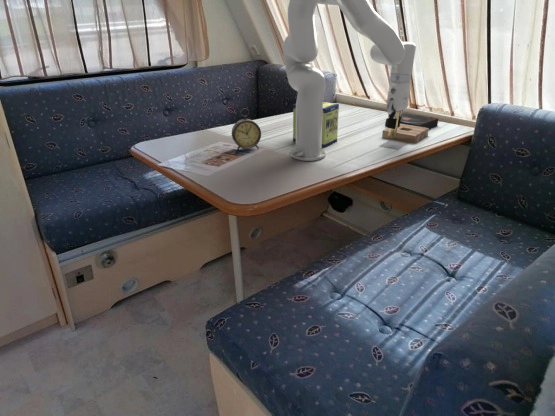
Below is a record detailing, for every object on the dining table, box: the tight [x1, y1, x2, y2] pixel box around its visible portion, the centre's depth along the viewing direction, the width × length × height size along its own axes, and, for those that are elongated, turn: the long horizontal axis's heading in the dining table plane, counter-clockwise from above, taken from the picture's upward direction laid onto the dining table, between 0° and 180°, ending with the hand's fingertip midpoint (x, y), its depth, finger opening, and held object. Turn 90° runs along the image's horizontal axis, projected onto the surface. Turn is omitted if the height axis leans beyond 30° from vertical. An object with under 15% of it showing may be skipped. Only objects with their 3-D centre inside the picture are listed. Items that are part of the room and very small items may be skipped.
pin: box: [388, 108, 400, 137], centre depth 157 cm, size 3×3×12 cm
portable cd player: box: [384, 112, 439, 130], centre depth 186 cm, size 16×17×4 cm
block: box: [381, 124, 430, 145], centre depth 171 cm, size 14×14×4 cm
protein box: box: [292, 101, 340, 149], centre depth 165 cm, size 10×16×16 cm
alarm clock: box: [231, 108, 262, 152], centre depth 158 cm, size 11×5×16 cm, turn 105°
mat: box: [379, 139, 410, 151], centre depth 162 cm, size 10×8×1 cm
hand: (393, 127), depth 158 cm, fingers closed on pin, 3 cm apart
